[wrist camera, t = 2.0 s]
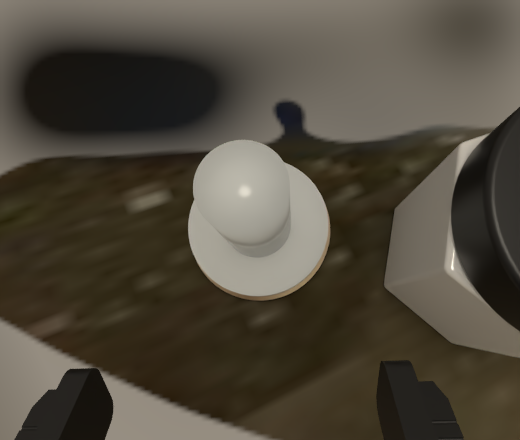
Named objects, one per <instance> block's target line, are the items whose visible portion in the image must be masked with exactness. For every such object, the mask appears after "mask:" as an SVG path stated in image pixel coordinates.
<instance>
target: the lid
mask: <svg viewBox="0 0 520 440" xmlns="http://www.w3.org/2000/svg"><path fill="white" fill-rule="evenodd" d="M193 194H194V199H195V200H194V202H193V205H192V208H191V211H190V216H189V224H188V233H189V241H190V246H191V249H192V252H193V254H194V256H195V258H196V260H197V262H198V264H199V265H200V267H201V268H202V270H203V271H204V272H205V273H206V274H207V275H208V276H209V277H210V278H211V279H212V280H213V281H214V282H216V283H217V284H219V285H220V286H222V287H224V288H226V289H228V290H230V291H232V292H236V293H239V294H242V295H247V296H256V297H263V296H271V295H276V294H280V293H282V292H285V291H287V290H289V289H291V288H293V287H295V286H296V285H298V284H299V283H300V282H302V281H303V280H304V279H305V278H306V277H307V276H308V275H309V274H310V273H311V272H312V271H313V269H314V268H315V267H316V265H317V263H318V261H319V260H320V258H321V256H322V254H323V251H324V249H325V245H326V242H327V237H328V215H327V210H326V206H325V203H324V201H323V198H322V196H321V194H320V192H319V191H318V189H317V187H316V186H315V185H314V184H313V182H312V181H311V180H310V179H309V178H308V177H307V176H306V175H305V174H303V173H302V172H301V171H299V170H298V169H296V168H295V167H293V166H291V165H289V164H286V163H284V162H283V161H282V159H281V158H280V157H279V155H278V154H277V153H276V152H275V151H273V150H272V149H271V148H269V147H268V146H266V145H264V144H261V143H259V142H255V141H250V140H236V141H231V142H227V143H225V144H222V145H220V146H218V147H216V148H215V149H214V150H212V151H211V152H210V153H209V154H208V155H207V156H206V157H205V158H204V159H203V160H202V162H201V163H200V165H199V167H198V169H197V171H196V174H195V177H194V182H193Z"/></svg>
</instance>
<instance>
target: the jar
mask: <svg viewBox="0 0 520 440" xmlns="http://www.w3.org/2000/svg"><path fill="white" fill-rule="evenodd" d="M384 286H385V288H386V289H387V290H388V291H390V292H391V293H392V294H393V295H394V296H396V297H397V298H398V299H399V300H400V301H402V302H403V303H404V304H405V305H406V306H408V307H409V308H410V309H411V310H412V311H414V312H415V313H416V314H417V315H418V316H420V317H421V318H422V319H423V320H424V321H426V322H427V323H428V324H429V325H430V326H432V327H433V328H434V329H435V330H436V331H438V332H439V333H440V334H441V335H442V336H443V337H445V338H446V339H447V340H448V341H449V342H451V343H452V344H456V345H461V346H465V347H470V348H475V349H479V350H484V351H488V352H493V353H498V354H502V355H507V356H511V357H516V358H520V107H519V108H518V109H517V110H516V111H515V112H513V113H512V114H511V115H510V116H509V117H508V118H507V119H506V120H504V121H503V122H502V123H501V124H500V125H499V126H498V127H497V128H495V129H494V130H493V131H492V132H491V133H489V134H486V135H483V136H480V137H477V138H474V139H471V140H468V141H465V142H463V143H461V144H460V145H459V146H458V147H457V148H456V149H455V150H454V151H453V152H452V153H451V154H450V155H449V156H448V157H447V158H445V159H444V160H443V161H442V162H441V163H440V164H439V165H438V166H437V167H436V168H435V169H434V170H433V171H432V172H431V173H430V174H429V175H428V176H427V177H426V178H425V179H424V180H423V181H422V182H421V183H420V184H419V185H418V186H417V187H416V188H415V189H414V190H413V191H412V192H411V193H410V194H409V195H408V196H407V197H406V198H405V199H404V200H403V201H402V202H401V203H400V204H399V205H398V206H397V207H396V208H395V210H394V218H393V225H392V232H391V238H390V245H389V252H388V259H387V266H386V272H385V279H384Z"/></svg>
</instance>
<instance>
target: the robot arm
mask: <svg viewBox="0 0 520 440" xmlns="http://www.w3.org/2000/svg"><path fill="white" fill-rule="evenodd" d="M377 409H378V415H379V420H380V424H381V429H382V433H383V437H384V440H464V439H463V435H462V433H461V430H460V428H459V425H458V424H457V422H456V418H455V415H454V413H453V410H452V408H451V405H450V403H449V400H448V398H447V397H446V396H445V395H444V394H443V393H442V391H441V390H440V389H439V388H438V387H437V386H436V385H435V383H434V382H433V381H425V382H418V380H417V377H416V374H415V371H414V369H413V366H412V364H411V362H410V361H409V360H405V361H381V363H380V370H379V378H378V387H377ZM112 415H113V400H112V397H111V395H110V393H109V391H108V389H107V387H106V385H105V382H104V380H103V378H102V376H101V374H100V372H99V370H98V369H96V368H88V369H70V370H68V371H67V372H66V373H65V375H64V376H63V378H62V380H61V382H60V384H59V386H58V388H57V390H48V391H47V392H46V393H45V394H44V395H43V396H42V397H41V399H40V400H39V401H38V402H37V403H36V404H35V405H34V406H33V407H32V409H31V411H30V412H29V414H28V416H27V418H26V420H25V422H24V423H23V425H22V430H21V431H19V433H18V434H17V436H16V438H15V440H105V437H106V434H107V431H108V429H109V426H110V423H111V420H112Z"/></svg>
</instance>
